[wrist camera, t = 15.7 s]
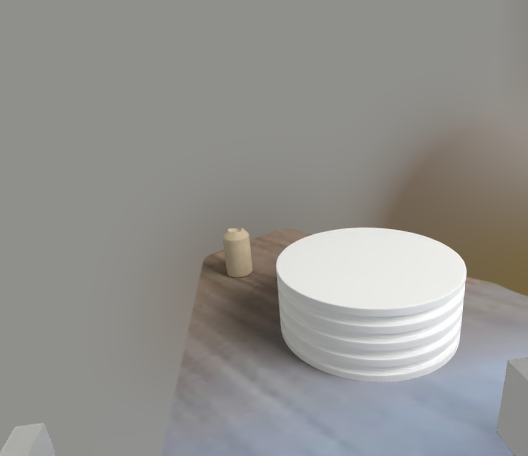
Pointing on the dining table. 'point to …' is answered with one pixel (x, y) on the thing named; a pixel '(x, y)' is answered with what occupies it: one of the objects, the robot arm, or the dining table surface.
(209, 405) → the dining table surface
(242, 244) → the candle
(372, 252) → the plate stack
